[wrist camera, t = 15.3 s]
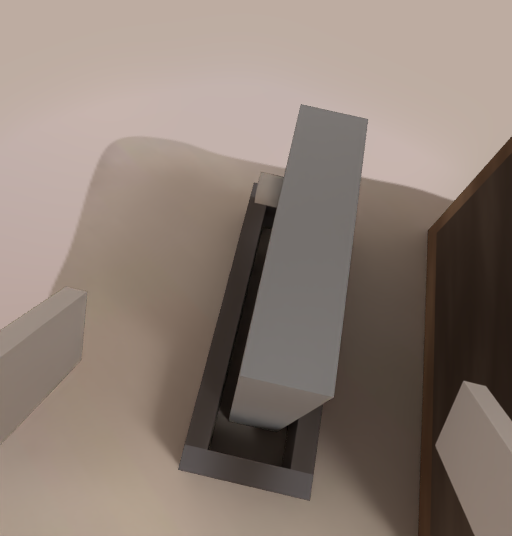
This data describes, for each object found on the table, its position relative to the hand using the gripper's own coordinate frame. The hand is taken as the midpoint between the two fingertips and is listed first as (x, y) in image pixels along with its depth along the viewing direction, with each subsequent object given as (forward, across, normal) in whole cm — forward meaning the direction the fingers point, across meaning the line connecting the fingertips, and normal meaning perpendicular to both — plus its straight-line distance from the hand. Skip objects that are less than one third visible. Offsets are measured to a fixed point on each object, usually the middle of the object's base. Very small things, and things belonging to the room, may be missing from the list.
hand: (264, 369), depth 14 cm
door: (+13, +1, -5) cm, 14 cm away
